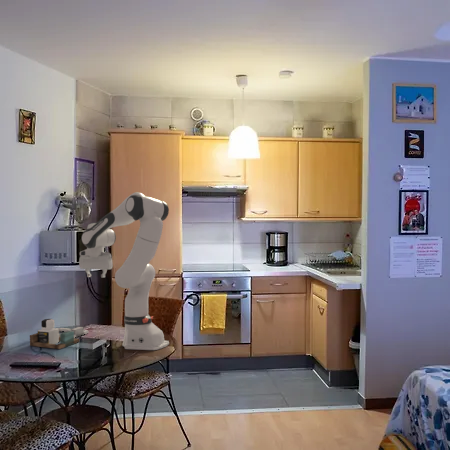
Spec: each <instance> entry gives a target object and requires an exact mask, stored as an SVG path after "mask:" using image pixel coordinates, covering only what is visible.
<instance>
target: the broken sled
mask: <svg viewBox="0 0 450 450" xmlns="http://www.w3.org/2000/svg"><path fill="white" fill-rule="evenodd" d="M84 328H85V327H83V326H77V327H74V328H72V329H71V328H66V327H65V328H64V327H60V328H58V329H59V332H62V331H64V332H63V333H65V332H68V331H73V332H74V338H75V337H76V338H79V337H81V335H82V336H85V335H88V334H89V330H88V329H87V330H86V329H84ZM87 333H88V334H87ZM60 334H61V333H59V337H60ZM84 334H85V335H84ZM78 336H79V337H78Z"/></svg>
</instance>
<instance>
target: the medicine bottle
mask: <svg viewBox="0 0 450 450" xmlns="http://www.w3.org/2000/svg"><path fill="white" fill-rule="evenodd" d="M55 325H56V324H55V319H53V318H45V319H42V320H41V329H38V330H37V333H38V342H40V343H49V344H59V343H60V341H59V334H60V331H59V328H57V327H55ZM58 342H59V343H58Z"/></svg>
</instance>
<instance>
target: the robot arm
mask: <svg viewBox="0 0 450 450" xmlns="http://www.w3.org/2000/svg"><path fill="white" fill-rule="evenodd" d="M169 211H170V209H169V204H168V203H166V202H165V201H164V200H160V199H158V198H157V199H156V198H155V197H154V198H153V197H151V196H146V195H145V194H143V193H142V192H140V191H139V192H138V191H136V192H133V193H131V194H129V196H127V197H126V198H125V199H124V200H123V201H122V202H121V203H120V204H119V205H118V206H116V207H115V208H114V209H113V210H111V211H110V212H108V213H106V215H104V216H103V217H101V218H100V219H99V220H98V221H96V222H91V223H88V225H87V228H86V229H85V230H84V231H83V232H82V234H81V242H82V244H83V245H84V246H85V247H86V249H84V250H82V251H80V252H79V260H78V261H79V262H78V263H79V264H78V265H79V268H80V269H81V270H85V273H86V275H87V276H86V277H87V278H92V273H91V271H90V270H102V274H100V277H101V278H106V274H107V271H108V270H112V269H113V258H112V254H111V253H110V252H109V251H108V252H107V251H105V247H110V246H114V244H115V243H116V240H117V236H116V233H115V231H114V230H113V229H112V228H115V227H120V226H128V225H130V224H132V223H134V222H136V221H138V220H139V223H140V225H139V228H138V231H137V234H136V237H135V240H134V242H133V245H132V248H131V250H130V253H129V254H128V256H127V257H126V259H125V261H124V262H123V263H122V265H121V266H120V267H119V268H118V269H117V270H116V272H115V274H114V280H115V283H116V285H117V286H118V287H120V288H123V289H129V290H128V293H127V295H126V297H125V299H124V316H123V318H124V319H123V321H124V322H123V323H124V335H123V341H122V344H121V345H122V347H124V349H125V350H140V351H141V350H143V351H156V350H161V349H164V348H165V347H167V346H169V345H170V342H169V340H165V335H164V333H163V330H161V329H160V328H159V327H158V326H157V325H155V323H153V322H152V320H153V319H154V316H150V314H149V297H150V291H151V286H152V283H153V281H154V279H155V277H156V269H155V268H154V266H153V265H152V264H151V263H150V262H151V261H152V260H153V259H154V257H155V256H156V253H157V249H158V246H159V243H160V240H161V237H162V233H163V226H164V223H163V221H165V220H166V219H167V217H168V215H169Z"/></svg>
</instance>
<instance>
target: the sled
mask: <svg viewBox="0 0 450 450" xmlns="http://www.w3.org/2000/svg"><path fill="white" fill-rule="evenodd" d="M59 334H60V337H59V343H56V344H49V343H40V342H38V332H37V333H32V334H30V335H29V346H31V347H37V348H38V347H39V348H40V347H41V348H45V349H46V348H49V349H54V350H55V349H56V350H57V349H58V350H61V349H64V348H67V347H69V346H72V345H74V344H77V342H78V343H80V338H77V337H76V338H74V332H73V331H68V332H62V333H59Z"/></svg>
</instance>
